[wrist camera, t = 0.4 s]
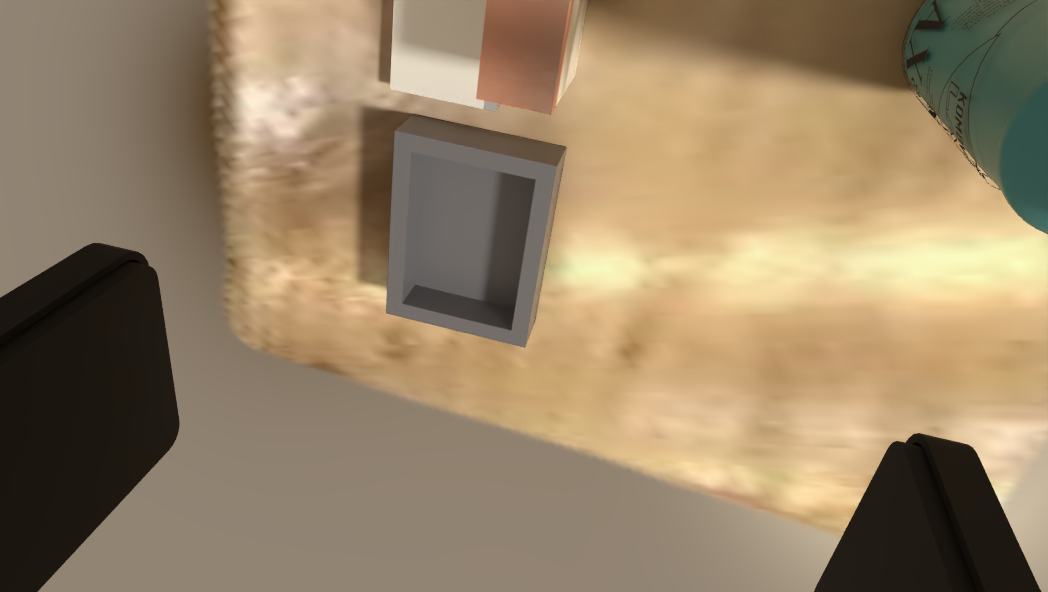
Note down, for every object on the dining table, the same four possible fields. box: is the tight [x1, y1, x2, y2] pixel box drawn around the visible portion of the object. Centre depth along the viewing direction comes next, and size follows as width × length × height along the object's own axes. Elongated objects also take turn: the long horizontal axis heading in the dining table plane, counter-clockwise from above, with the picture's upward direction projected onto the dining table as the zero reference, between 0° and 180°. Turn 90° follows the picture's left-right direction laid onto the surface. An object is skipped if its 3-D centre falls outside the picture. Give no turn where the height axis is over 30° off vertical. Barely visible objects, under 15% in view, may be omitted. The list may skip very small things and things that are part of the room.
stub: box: [476, 0, 588, 115], centre depth 35 cm, size 7×4×7 cm, turn 172°
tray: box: [386, 114, 567, 348], centre depth 44 cm, size 12×9×3 cm
